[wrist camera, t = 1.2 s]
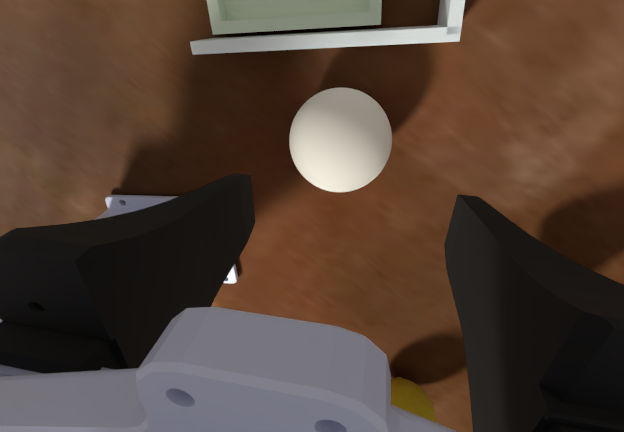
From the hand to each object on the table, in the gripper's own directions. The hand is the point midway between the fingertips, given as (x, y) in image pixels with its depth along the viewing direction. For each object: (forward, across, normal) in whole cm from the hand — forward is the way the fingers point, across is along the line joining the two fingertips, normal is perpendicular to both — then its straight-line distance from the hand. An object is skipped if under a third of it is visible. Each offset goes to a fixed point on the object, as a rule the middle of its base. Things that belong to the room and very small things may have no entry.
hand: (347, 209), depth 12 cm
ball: (+11, +1, 0) cm, 11 cm away
